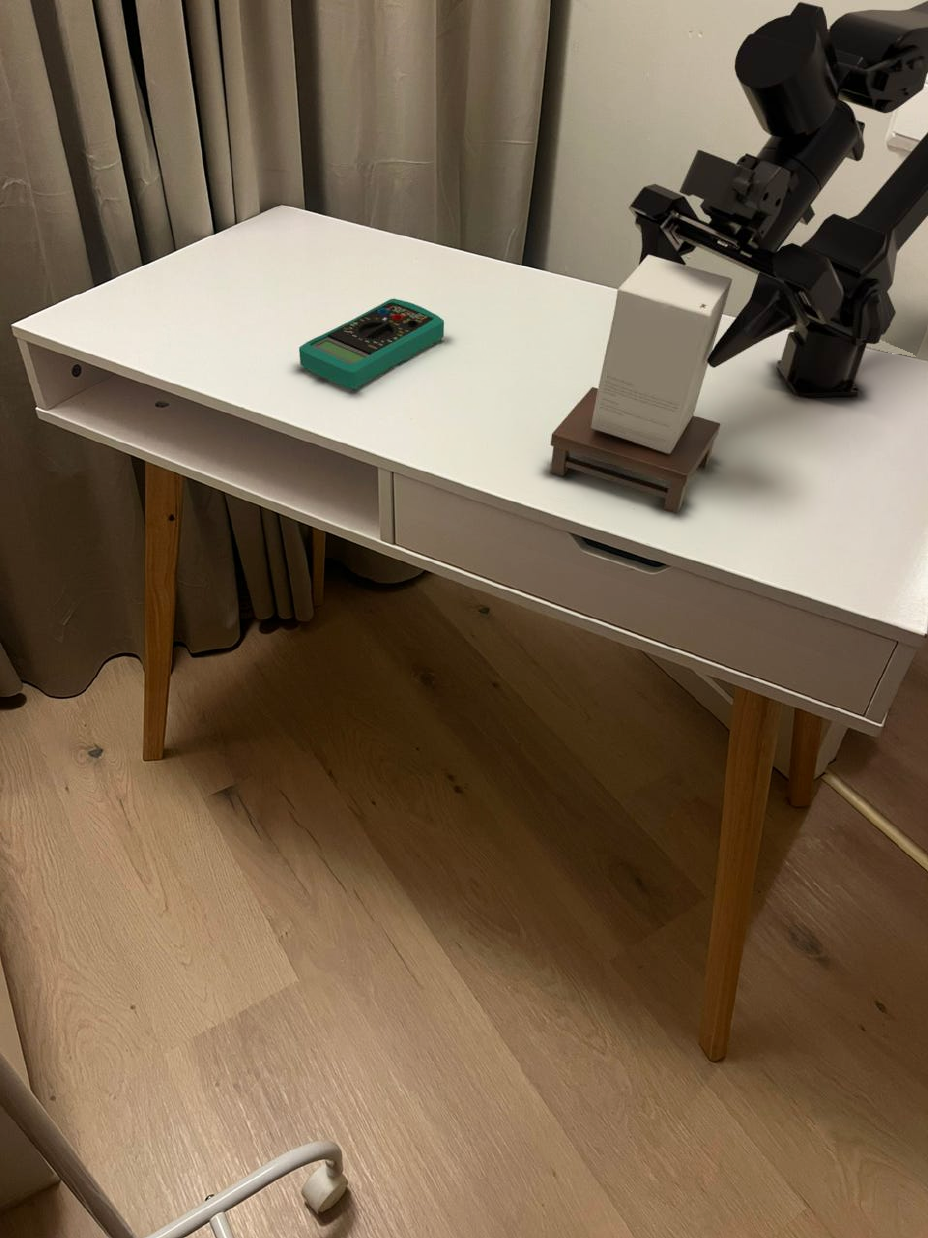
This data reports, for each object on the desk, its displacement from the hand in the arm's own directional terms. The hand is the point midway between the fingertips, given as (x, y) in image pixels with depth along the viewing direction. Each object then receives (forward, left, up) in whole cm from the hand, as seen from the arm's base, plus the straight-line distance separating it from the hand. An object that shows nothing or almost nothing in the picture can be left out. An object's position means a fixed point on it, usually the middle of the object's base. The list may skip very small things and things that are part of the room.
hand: (667, 341), depth 80 cm
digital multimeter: (+24, -20, -12) cm, 33 cm away
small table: (+2, +1, -11) cm, 12 cm away
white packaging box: (+1, +1, -7) cm, 7 cm away
